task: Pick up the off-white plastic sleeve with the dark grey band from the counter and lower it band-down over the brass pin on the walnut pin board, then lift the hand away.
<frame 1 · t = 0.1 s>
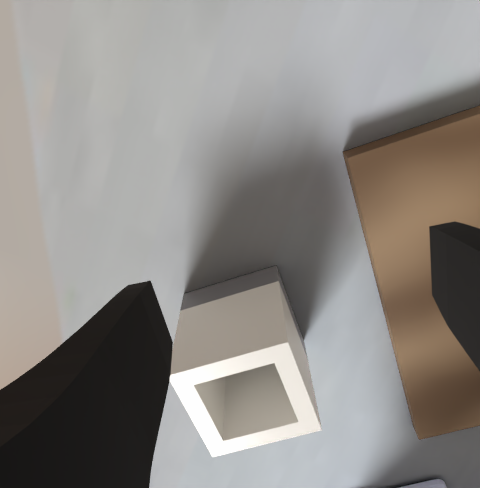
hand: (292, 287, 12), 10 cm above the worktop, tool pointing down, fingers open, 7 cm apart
sleeve: (245, 318, 24), on the worktop
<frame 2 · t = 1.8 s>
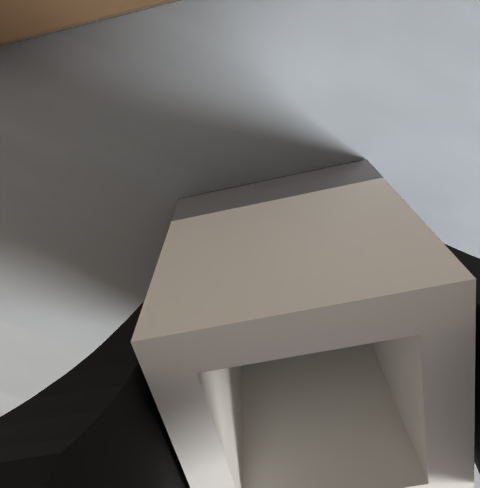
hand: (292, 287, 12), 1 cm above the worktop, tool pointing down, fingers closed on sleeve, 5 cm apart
sleeve: (287, 261, 13), on the worktop, touching gripper
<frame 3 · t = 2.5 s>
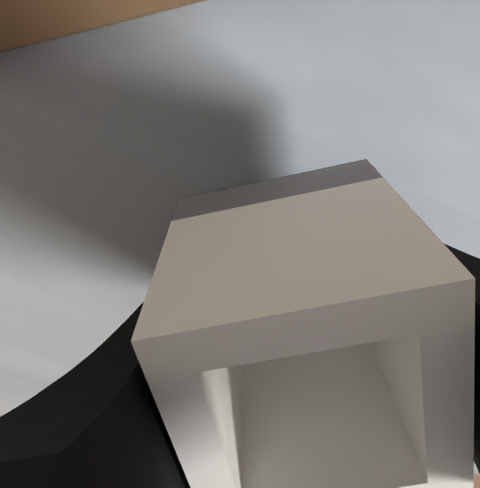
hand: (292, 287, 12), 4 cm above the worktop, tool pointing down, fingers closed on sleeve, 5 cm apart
sleeve: (287, 261, 13), point 2 cm above the worktop, touching gripper
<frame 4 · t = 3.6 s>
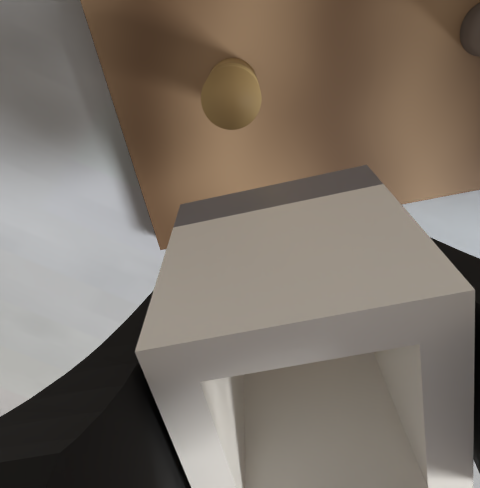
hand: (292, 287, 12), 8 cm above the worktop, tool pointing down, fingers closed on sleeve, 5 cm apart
pin board: (350, 55, 17), on the worktop
sleeve: (288, 265, 13), point 7 cm above the worktop, touching gripper
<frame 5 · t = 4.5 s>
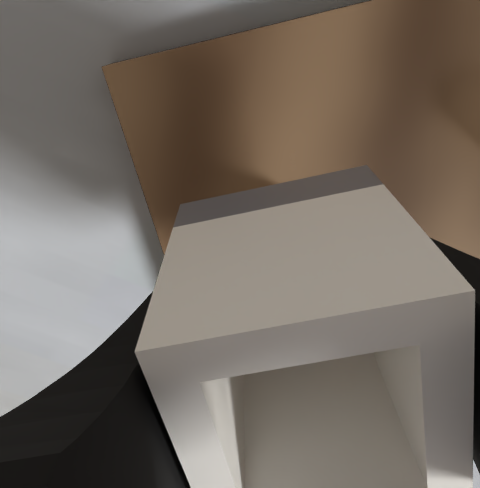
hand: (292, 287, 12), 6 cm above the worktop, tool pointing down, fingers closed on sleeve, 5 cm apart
pin board: (396, 177, 17), on the worktop
sleeve: (287, 265, 13), point 5 cm above the worktop, touching gripper
when the fingers open (4 cm above the worktop, at t = 5.5 s): sleeve drops 1 cm, resting on pin board.
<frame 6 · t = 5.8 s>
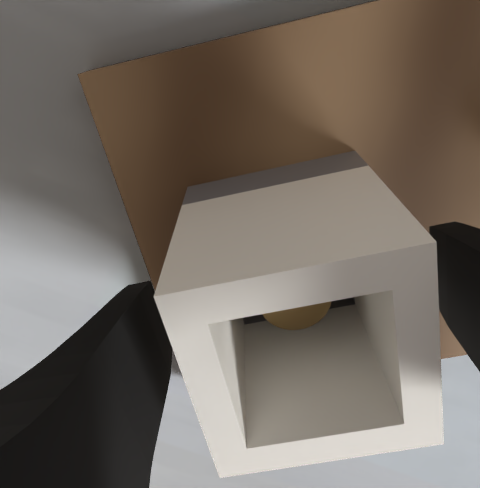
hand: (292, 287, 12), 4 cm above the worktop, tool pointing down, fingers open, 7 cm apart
pin board: (416, 198, 15), on the worktop
sleeve: (284, 243, 14), point 1 cm above the worktop, touching pin board
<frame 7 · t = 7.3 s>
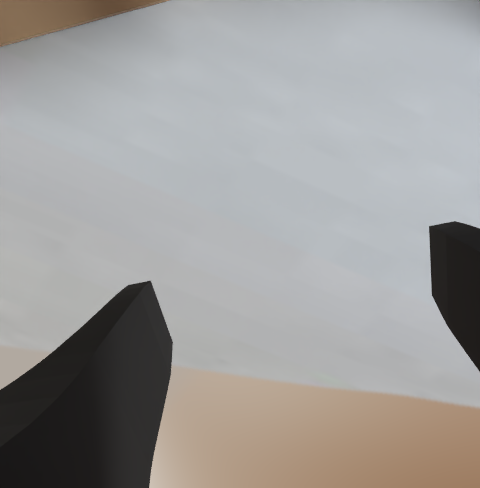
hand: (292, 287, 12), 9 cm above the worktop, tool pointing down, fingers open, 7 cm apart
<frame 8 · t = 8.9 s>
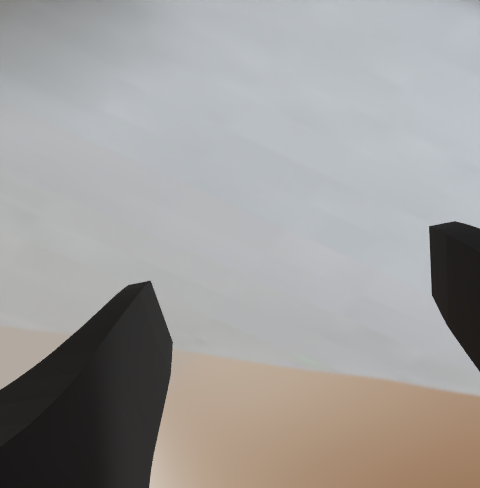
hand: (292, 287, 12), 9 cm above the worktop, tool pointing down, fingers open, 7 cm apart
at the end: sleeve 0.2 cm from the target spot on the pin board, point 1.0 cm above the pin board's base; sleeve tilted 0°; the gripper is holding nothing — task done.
